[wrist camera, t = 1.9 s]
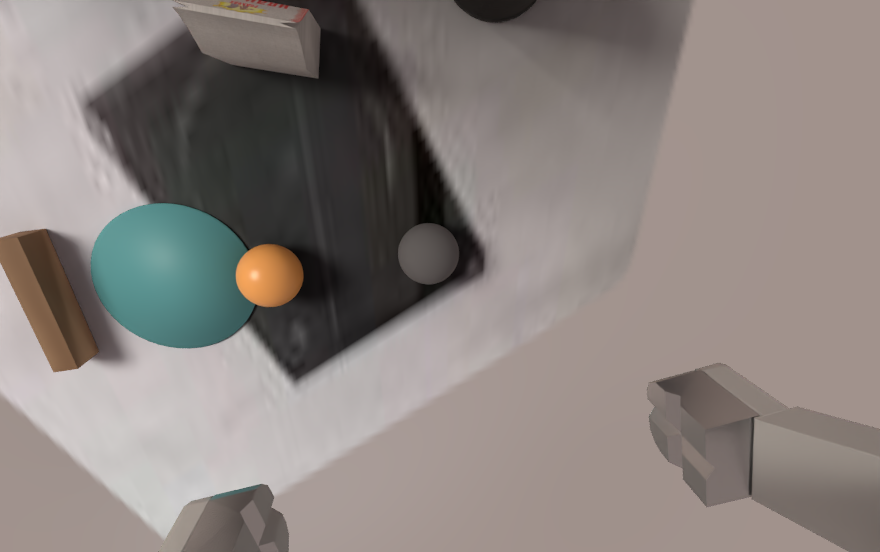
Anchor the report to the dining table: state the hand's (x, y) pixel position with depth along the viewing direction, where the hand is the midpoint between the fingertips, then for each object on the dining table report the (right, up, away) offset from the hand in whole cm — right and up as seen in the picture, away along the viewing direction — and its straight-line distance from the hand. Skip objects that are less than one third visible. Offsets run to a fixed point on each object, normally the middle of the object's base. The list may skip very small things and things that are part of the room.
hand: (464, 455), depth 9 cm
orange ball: (-15, +4, +28) cm, 32 cm away
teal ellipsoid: (-25, +3, +30) cm, 39 cm away
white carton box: (-14, +22, +25) cm, 36 cm away
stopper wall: (-34, +2, +29) cm, 45 cm away
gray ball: (-2, +6, +29) cm, 30 cm away
